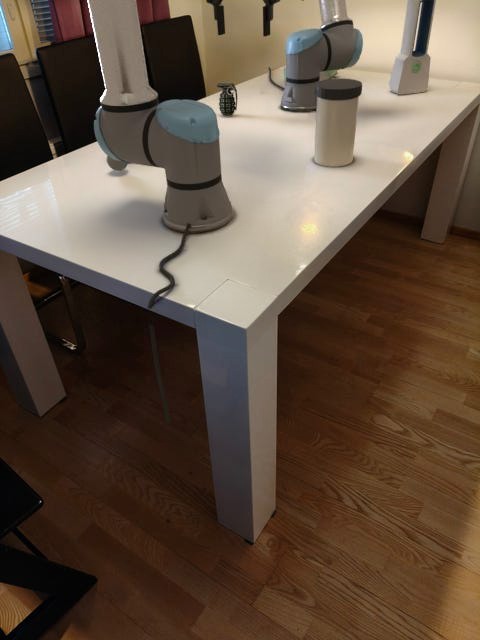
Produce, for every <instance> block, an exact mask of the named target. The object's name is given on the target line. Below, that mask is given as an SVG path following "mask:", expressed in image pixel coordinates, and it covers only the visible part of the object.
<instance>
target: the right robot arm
mask: <svg viewBox="0 0 480 640" xmlns="http://www.w3.org/2000/svg"><path fill="white" fill-rule="evenodd" d="M301 1H305V0H301ZM318 5H319V11H320V18H321V26H320V27H319V28H308V29H307V28H306V29H301V30H297V31H295V32H293V33H290V34H289V35H288V37H287V39H286V46H285V68H286V81H285V85H284V87H283V86H281V85H279V84H278V83H276V82H275V81H274V80H273V79H272V69H271V67H270V66H268V78H269V81H270V82H271V84H273V85H274V86H275V87H277V88H279V89H281V90H283V93H282V95H281V99H280V108H281V109H282V110H284V111H288V112H294V113H295V112H296V113H304V112H305V113H306V112H307V113H308V112H314V111H316V108H317V96H315V85H316V83H317V82H319V81H320V72H323V71H330V70H337V69H340V70H345V69H348V68H352V67H354V66H355V65H356V64H357V63H358V62H359V60H360V58H361V56H362V52H363V49H364V48H363V46H364V38H363V37H364V36H363V34H362V31H361V30H360V29H358V28H357V27H356V28H355V27H354V20H353V19H352V18H350V17H349V16H348V9H347V1H346V0H318Z"/></svg>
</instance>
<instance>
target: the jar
mask: <svg viewBox="0 0 480 640" xmlns="http://www.w3.org/2000/svg"><path fill="white" fill-rule="evenodd" d="M359 98H360V96H359V97H356V98H353V99H347V100H327V99H321V98H318V97H317V108H316V110H315V111H316V112H315V132H314V134H315V135H314V156H313V161H314V162H315V163H316V164H317V165H320V166H323V167H331V168H332V167H336V168H337V167H343V166H347V165H350V164H352V163H353V161H354V153H355V152H354V151H355V143H356V142H355V140H356V131H357V122H358V121H357V120H358V119H357V118H358V111H359V100H360V99H359Z"/></svg>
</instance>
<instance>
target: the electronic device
mask: <svg viewBox="0 0 480 640" xmlns="http://www.w3.org/2000/svg"><path fill="white" fill-rule="evenodd" d="M436 3H437V0H407V3H406V9H405V10H406V11H405V17H404V24H403V31H402V39H401V46H400V52H399V53H398V54H397V56H396V57H395V58H394V62H393V66H392V70H391V73H390V77H389V81H388V88H389V90H390V91H391V92H392V93H394V94H397V95H399V96H403V95H410V94H418V93H425V92H426V91H427V90H428V88H429V79H430V70H431V69H430V68H431V56H430V55H429V53H428V50H429V45H430V39H431V32H432V27H433V21H434V16H435V10H436Z"/></svg>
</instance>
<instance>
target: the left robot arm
mask: <svg viewBox="0 0 480 640" xmlns="http://www.w3.org/2000/svg"><path fill="white" fill-rule="evenodd" d="M262 1H263V3H264V5H263V6H262V36H263V37H268V36H271V21H274V6H275V4H277V3H280V2H281V0H262ZM222 2H223V0H206V3H207V4H210V5H212V7H213V18H214V20H215V21H216V27H217V36H223V35H225V34H226V24H225V23H226V22H225V5H222V4H223V3H222ZM87 3H88V4H87V5H88V8H89V13H90V20H91V23H92V29H93V34H94V39H95V43H96V49H97V53H98V59H99V63H100V68H101V73H102V78H103V84H104V88H105V90H104V92H103V93H102V95H101V97H100V98H99V102H100V107H98V109H97V110H96V113H95V120H93V130H94V135H95V139H96V143H97V144H98V146H99V147H100V149H101V150H102V152H103V153H104V154H105V155H106V156H109V157H111V158H112V159H115V160H118V161H122V162H124V163H128V164H127V165H131V164H132V165H139V166H146V167H154V168H160V169H164V174H165V180H166V190H165V191H166V192H165V196H164V203H163V207H162V218H163V222H164V224H165V226H167V227H168V228H169V229H171V230H173V231H177V232H180V233H183V234H182V237H181V241H180V244H179V246H178V247H177V249H176V250H175V251H173V252H172V253H170V254H168V255H166V256H164V257H163V258H161V260H160V261H159V265H158V267H159V271H160V272H161V273H162V274H164V275H165V276H166V277H168V279H169V280H170V283H169V284H168V285H167V286H165V287H163V288H160V289H158V290H157V291H155V292H154V293H153V294H152V296H151V297H150V298H149V301H148V305H147V309H148V310H151V309H152V308H153V305H154V303H155V300H156V299H157V298H158V297H159V296H160V295H162V294H163V293H165V292H168V291H169V290H171V289H173V287H174V286H175V283H176V280H175V277H174V275H172V274H171V273H170V272H169V271H167V270H166V269H165V267H164V264H165V263H166V262H167V261H169V260H171V259H173V258H174V257H176V256H177V255H179V253H181V251H182V250H183V248H184V247H185V243H186V239H187V236H188V233H190V234H191V233H192V234H193V233H194V234H195V233H196V234H197V233H205V232H206V233H207V232H210V231H215V230H216V229H220V228H222V227H224V226H226V225H227V224H228V223H230V221H231V220H232V218H233V216H234V212H233V211H234V210H233V205H232V201H231V200H230V197H229V195H228V192H227V190H226V187H225V184H224V182H223V175H222V174H223V173H222V161H221V159H222V158H221V145H220V133H221V132H220V129H219V123H218V116H217V113H216V112H215V110H214V109H213V108H212V106H210V105H208V104H206V103H204V102H202V101H198V100H193V99H169V100H165V101H162V102H160V101H159V94H158V92H157V91H156V90H155V89H153V88H152V87H151V85H150V84H149V78H148V71H147V64H146V57H145V52H144V44H143V39H142V32H141V24H140V19H139V12H138V5H137V0H87ZM148 327H149V333H150V341H151V349H152V354H153V355H152V357H153V363H154V368H155V373H156V379H157V384H158V386H159V388H158V389H159V392H160V393H159V394H160V396H161V401H162V406H163V410H164V411H163V412H164V416H165V420H166V423H167V424H168V425H169V424H170V423H171V417H170V411H169V407H168V402H167V398H166V397H167V396H166V393H165V389H164V384H163V378H162V375H161V368H160V363H159V355H158V350H157V340H156V333H155V332H156V331H155V325H152V324H148Z"/></svg>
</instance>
